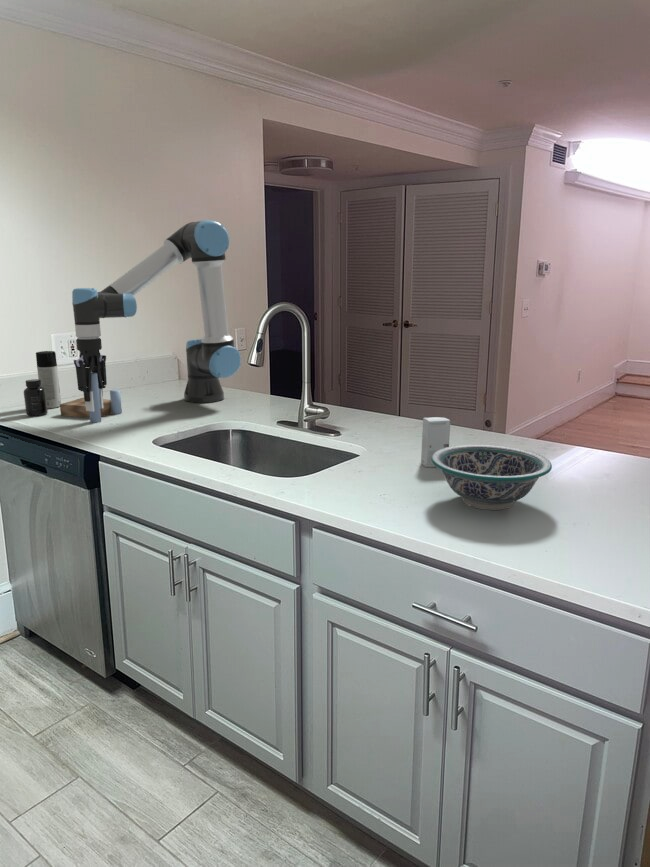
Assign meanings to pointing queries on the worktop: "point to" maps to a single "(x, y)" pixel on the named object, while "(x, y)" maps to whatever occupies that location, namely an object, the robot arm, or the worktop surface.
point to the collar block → (82, 408)
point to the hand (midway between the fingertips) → (94, 409)
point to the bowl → (490, 473)
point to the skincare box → (434, 438)
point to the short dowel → (115, 401)
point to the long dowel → (95, 399)
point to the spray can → (49, 377)
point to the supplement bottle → (35, 398)
